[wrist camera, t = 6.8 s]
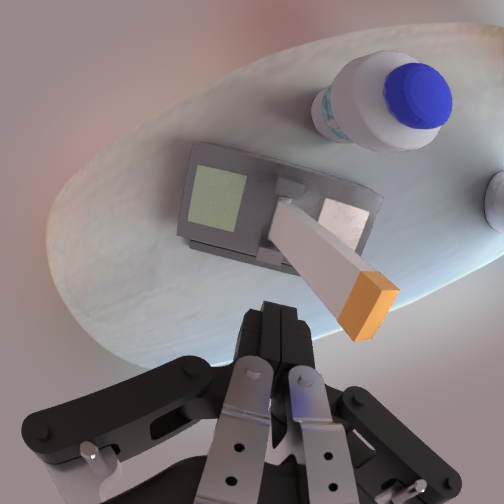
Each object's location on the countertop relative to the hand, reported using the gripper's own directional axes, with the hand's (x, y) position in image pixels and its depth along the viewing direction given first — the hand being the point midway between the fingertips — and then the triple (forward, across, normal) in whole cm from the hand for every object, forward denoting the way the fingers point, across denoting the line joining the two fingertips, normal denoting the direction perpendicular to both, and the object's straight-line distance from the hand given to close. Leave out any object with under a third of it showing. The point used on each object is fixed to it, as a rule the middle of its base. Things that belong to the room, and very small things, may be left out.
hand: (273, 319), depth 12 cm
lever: (+15, 0, 0) cm, 15 cm away
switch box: (+21, 0, 0) cm, 21 cm away
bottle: (+21, -4, -12) cm, 24 cm away
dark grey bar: (+21, 0, +6) cm, 22 cm away
